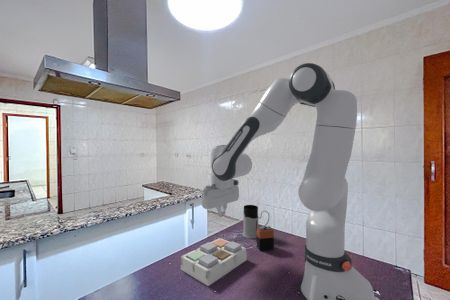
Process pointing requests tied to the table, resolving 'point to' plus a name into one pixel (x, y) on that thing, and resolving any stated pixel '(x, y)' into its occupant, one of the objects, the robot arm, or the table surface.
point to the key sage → (195, 255)
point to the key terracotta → (220, 243)
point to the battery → (265, 238)
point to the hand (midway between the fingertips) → (221, 214)
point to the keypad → (213, 261)
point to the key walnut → (221, 255)
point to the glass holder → (251, 221)
